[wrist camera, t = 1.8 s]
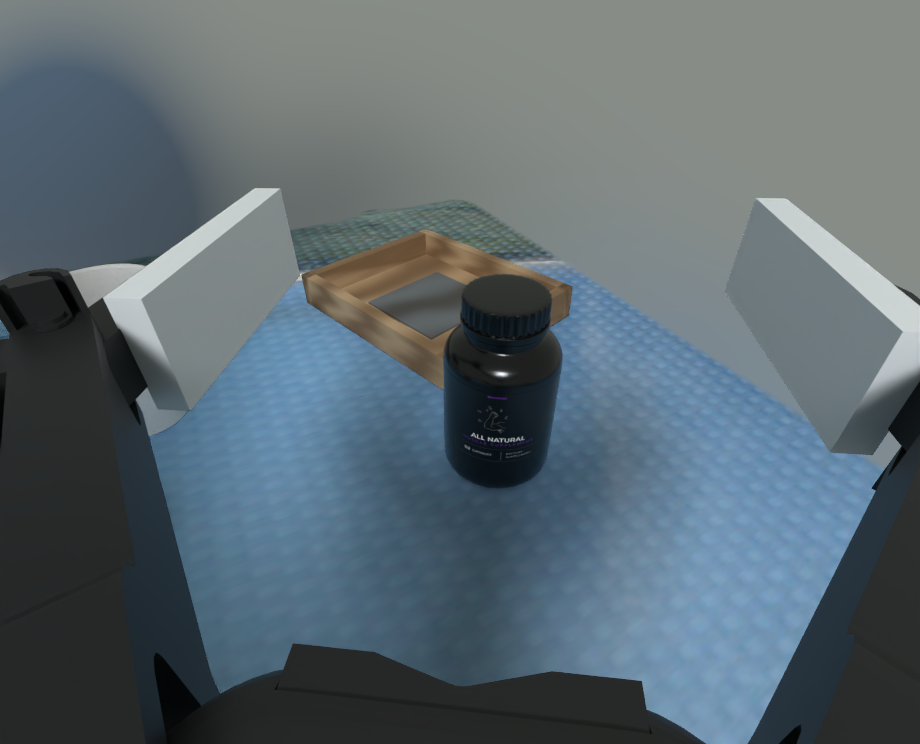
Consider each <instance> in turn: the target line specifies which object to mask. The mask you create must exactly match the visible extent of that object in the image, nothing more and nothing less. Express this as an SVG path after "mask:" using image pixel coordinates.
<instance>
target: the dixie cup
mask: <svg viewBox="0 0 920 744" xmlns="http://www.w3.org/2000/svg"><path fill="white" fill-rule="evenodd" d="M144 267H146V266H142V265H137V264H107V265H99V266H93V267H87V268H83V269H78V270H74V271H71V272H69V273H70V274H71V275H72V277H73V279H74V281H75V283H76V285H77V287H78V289H79V291H80V293H81V295H82V297H83V299H84V300H85V302H86V304H87V306H88V307H90V306H91V305H92V304H94V303H95V302H97V301H98V300H99V299H101V298H102V297H104V296H105V295H106V294H108V293H109V292H111V291H112V290H113V289H115V288H117V287H118V286H119V285H120V284H122V283H123V282H124V281H126V280H127V279H129V278H130V277H131V276H133V275H134V274H136V273H137V272H138V271H140V270H141V269H143V268H144ZM136 401H137V403H138V405H139V406H140V408H141V410H142V412H143V416H144V420H145V423H146V427H147V431H148V435H149V436H151V435H154V434H157V433H159V432H161V431H164V430H166V429H167V428H169V427H171V426H172V425H174V424H175V423H177V422H178V421H179V420H180V419H181V418H182V417H183V416H184V415H185V414H186V413H187V411H179V410H163V409H157V407H156V405H155V403H154V401H153V399H152V397H151V395H150V393H149V391H148V388H146V389H145V390H144V391H143V392H142V393H141V394H140V395H139V397H138V398H137V399H136Z"/></svg>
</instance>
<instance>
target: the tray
mask: <svg viewBox="0 0 920 744" xmlns="http://www.w3.org/2000/svg"><path fill="white" fill-rule="evenodd" d="M494 274H514V275H521V276H524V277H529V278H531V279H534V280H536V281H537V282H540V283H542V284H543V285H544V286H546V287H547V289H549V290H550V293H551V294H552V307H551V314H550V316H551V323H550V327H551V326H552V325H554V324H556V323H557V322H559V321H560V320H562V319H564V318H565V317H567V316H568V315H569V310H570V303H571V295H572V288H573V287H572V286H570V285H567V284H565V283H562V282H559V281H557V280H554V279H552V278H549V277H547V276H544V275H542V274H539V273H537V272H534V271H531V270H529V269H526V268H524V267H521V266H519V265H516V264H514V263H511V262H509V261H506V260H503V259H501V258H498V257H496V256H493V255H491V254H488V253H486V252H483V251H481V250H478V249H476V248H473V247H470V246H468V245H465V244H463V243H460V242H458V241H455V240H453V239H450V238H448V237H445V236H442V235H440V234H437V233H435V232H432V231H430V230H427V229H425V230H422V231H419V232H417V233H414V234H411V235H409V236H406V237H403V238H400V239H398V240H395V241H392V242H389V243H387V244H384V245H381V246H379V247H376V248H373V249H370V250H368V251H365V252H362V253H359V254H357V255H354V256H351V257H349V258H346V259H343V260H340V261H338V262H335V263H332V264H329V265H327V266H324V267H321V268H319V269H316V270H313V271H310V272H308V273H305V274H302V280H303V284H304V289H305V293H306V298H307V302H308V303H309V304H311V305H312V306H314V307H315V308H317V309H319V310H320V311H322V312H323V313H325V314H326V315H328V316H329V317H331V318H332V319H334V320H336V321H337V322H339V323H340V324H342V325H343V326H345V327H346V328H348V329H349V330H351V331H353V332H354V333H356V334H357V335H359V336H360V337H362V338H363V339H365V340H367V341H368V342H370V343H371V344H373V345H374V346H376V347H377V348H379V349H380V350H382V351H384V352H385V353H387V354H388V355H390V356H391V357H393V358H394V359H396V360H397V361H399V362H401V363H402V364H404V365H405V366H407V367H408V368H410V369H411V370H413V371H414V372H416V373H418V374H419V375H421V376H422V377H424V378H425V379H427V380H428V381H430V382H431V383H433V384H435V385H436V386H438V387H439V388H441V389H442V390H444V369H443V355H444V346H445V343H446V340H447V338H448V337H449V335H450V334H451V332H452V331H453V330H454V329H455V328H456V327H457V326H458V325H459V324H460V312H461V297H462V292H463V289H464V288H465V286H466V285H467V284H469V282H471V281H473V280H474V279H477V278H480V277H482V276H487V275H494Z"/></svg>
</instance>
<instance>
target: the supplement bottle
mask: <svg viewBox="0 0 920 744" xmlns="http://www.w3.org/2000/svg"><path fill="white" fill-rule="evenodd" d="M551 307H552V294H551V293H550V290H549V289H547V287H546V286H544V285H543V284H542V283H540V282H537V281H536V280H534V279H531V278H529V277H524V276H521V275H514V274H494V275H487V276H482V277H480V278H477V279H474V280H473V281H471V282H469V284H467V285H466V286H465V288H464V289H463V292H462V297H461V312H460V324H459V325H458V326H457V327H456V328H455V329H454V330H453V331H452V332H451V334H450V335H449V337H448V338H447V340H446V343H445V346H444V355H443V369H444V438H445V451H446V456H447V458H448V461H449V463H450V464H451V466H452V467H453V469H454V470H455V471H456V472H457V473H458V474H459V475H461V476H462V477H463V478H465V479H466V480H468V481H470V482H472V483H474V484H477V485H480V486H484V487H489V488H509V487H514V486H517V485H520V484H523V483H525V482H527V481H528V480H530V479H532V478H533V477H534V476H535V475H536V474H537V473H538V472H539V471H540V470H541V468H542V467H543V465H544V463H545V461H546V457H547V453H548V448H549V442H550V436H551V430H552V423H553V417H554V411H555V405H556V399H557V392H558V386H559V380H560V374H561V368H562V349H561V346H560V344H559V342H558V340H557V338H556V337H555V335H554V334H553V333H552V332H551V330H549V329H550V323H551V316H550V314H551Z"/></svg>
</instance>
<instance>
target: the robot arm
mask: <svg viewBox="0 0 920 744" xmlns="http://www.w3.org/2000/svg"><path fill="white" fill-rule="evenodd" d="M299 276H300V274H299V270H298V265H297V261H296V256H295V252H294V247H293V243H292V238H291V234H290V229H289V225H288V220H287V216H286V211H285V207H284V203H283V199H282V193H281V189H276V188H275V189H273V188H255V189H254V190H252V191H251V192H249V193H248V194H246V195H245V196H244V197H242V198H241V199H239V200H238V201H237V202H235V203H234V204H232V205H231V206H230V207H228V208H227V209H225V210H224V211H223V212H221V213H220V214H218V215H217V216H216V217H214V218H213V219H212V220H210V221H209V222H207V223H206V224H205V225H203V226H202V227H200V228H199V229H198V230H196V231H195V232H193V233H192V234H191V235H189V236H188V237H186V238H185V239H184V240H182V241H181V242H179V243H178V244H177V245H175V246H174V247H173V248H171V249H170V250H168V251H167V252H166V253H164V254H163V255H161V256H160V257H159V258H157V259H156V260H154V261H153V262H152V263H150V264H149V265H147V266H146V267H144V268H143V269H141V270H140V271H138V272H137V273H136V274H134V275H133V276H131V277H130V278H129V279H127V280H126V281H124V282H123V283H122V284H120V285H119V286H118V287H117V288H115V289H113V290H112V291H111V292H109V293H108V294H106V295H105V296H104V297H102V298H101V299H99V300H98V301H97V302H95V303H94V304H92V305H91V306H90V307H88V306H87V304H86V302H85V300H84V299H83V297H82V295H81V293H80V291H79V289H78V287H77V285H76V283H75V281H74V279H73V277H72V275H71V274H70V273H69V272H68V271H67V270H63V269H58V268H57V269H40V270H33V271H28V272H24V273H21V274H17V275H13V276H11V277H8V278H6V279H3V280H1V281H0V319H1V321H2V322H3V324H4V325H5V327H6V329H7V330H8V332H9V333H10V335H9V339H2V340H0V744H706V743H704V742H703V741H701V740H700V739H698V738H697V737H695V736H694V735H693V734H691V733H690V732H688V731H687V730H685V729H684V728H682V727H681V726H679V725H677V724H675V723H673V722H671V721H670V720H668V719H666V718H664V717H662V716H660V715H658V714H656V713H653V712H651V711H648V710H646V704H645V698H644V692H643V686H642V681H636V680H627V679H617V678H608V677H599V676H590V675H580V674H571V673H562V672H553V671H552V672H546V673H540V674H535V675H529V676H523V677H518V678H512V679H506V680H501V681H495V682H489V683H484V684H478V685H472V686H465V687H461V686H454V685H451V684H449V683H446V682H444V681H442V680H439V679H437V678H434V677H432V676H430V675H427V674H425V673H422V672H420V671H418V670H415V669H413V668H411V667H408V666H406V665H403V664H401V663H399V662H396V661H394V660H392V659H389V658H387V657H384V656H382V655H380V654H377V653H375V652H367V651H358V650H349V649H340V648H330V647H321V646H312V645H303V644H293V645H292V648H291V650H290V653H289V656H288V659H287V661H286V664H285V667H284V670H279V671H274V672H271V673H268V674H265V675H261V676H258V677H255V678H252V679H250V680H248V681H246V682H243V683H241V684H239V685H236V686H234V687H232V688H230V689H229V690H227V691H225V692H223V693H222V694H220V693H219V691H218V689H217V687H216V684H215V682H214V680H213V677H212V674H211V671H210V668H209V665H208V661H207V657H206V654H205V650H204V646H203V642H202V638H201V634H200V631H199V627H198V623H197V619H196V615H195V611H194V608H193V604H192V600H191V596H190V592H189V588H188V585H187V581H186V577H185V573H184V569H183V565H182V562H181V558H180V554H179V550H178V546H177V542H176V539H175V535H174V531H173V527H172V523H171V519H170V516H169V512H168V508H167V504H166V500H165V496H164V492H163V489H162V485H161V481H160V477H159V473H158V469H157V466H156V462H155V458H154V454H153V450H152V446H151V443H150V439H149V435H148V431H147V427H146V423H145V420H144V416H143V412H142V410H141V408H140V406H139V405H138V403H137V401H136V399H137V398H138V397H139V395H140V394H141V393H142V392H143V391H144V390H145V389H146V388H148V391H149V393H150V395H151V397H152V399H153V401H154V403H155V405H156V407H157V409H163V410H179V411H191V410H192V409H193V408H194V406H195V405H196V404H197V403H198V401H199V400H200V399H201V398H202V396H203V395H204V394H205V393H206V392H207V390H208V389H209V388H210V387H211V385H212V384H213V383H214V382H215V380H216V379H217V378H218V377H219V375H220V374H221V373H222V372H223V370H224V369H225V368H226V367H227V365H228V364H229V363H230V362H231V360H232V359H233V358H234V357H235V355H236V354H237V353H238V352H239V351H240V349H241V348H242V347H243V346H244V344H245V343H246V342H247V341H248V339H249V338H250V337H251V336H252V334H253V333H254V332H255V331H256V329H257V328H258V327H259V326H260V324H261V323H262V322H263V321H264V319H265V318H266V317H267V316H268V315H269V313H270V312H271V311H272V310H273V308H274V307H275V306H276V305H277V303H278V302H279V301H280V300H281V298H282V297H283V296H284V295H285V293H286V292H287V291H288V290H289V288H290V287H291V286H292V285H293V283H294V282H295V281H296V280H297V279H298V277H299ZM725 292H726V294H727V296H728V297H729V299H730V300H731V302H732V303H733V305H734V306H735V308H736V309H737V311H738V312H739V314H740V315H741V317H742V319H743V320H744V322H745V323H746V325H747V326H748V328H749V329H750V331H751V332H752V334H753V335H754V337H755V338H756V340H757V341H758V343H759V344H760V346H761V348H762V349H763V351H764V352H765V354H766V355H767V357H768V358H769V360H770V361H771V363H772V364H773V366H774V367H775V369H776V370H777V372H778V373H779V375H780V377H781V378H782V379H783V381H784V383H785V384H786V386H787V387H788V389H789V390H790V391H791V393H792V395H793V396H794V398H795V399H796V401H797V402H798V404H799V406H800V407H801V409H802V410H803V412H804V413H805V415H806V416H807V418H808V419H809V421H810V422H811V424H812V425H813V427H814V428H815V430H816V431H817V433H818V435H819V436H820V438H821V439H822V441H823V442H824V444H825V445H826V447H827V448H828V450H829V451H830V452H832V453H848V454H863V455H873V454H874V452H875V451H876V449H877V448H878V446H879V445H880V443H881V442H882V440H883V439H884V437H885V436H886V435H887V433H888V431H890V432H891V434H892V435H893V436H894V437H895V438H896V440H897V441H898V442H899V443H900V444H901V448H900V449H899V451H898V452H897V453H896V455H895V456H894V458H893V459H892V460H891V462H890V463H889V465H888V466H887V467H886V469H885V470H884V471H883V473H882V474H881V476H880V477H879V478H878V480H877V481H876V483H875V484H874V485H873V487H872V489H874V490H876V492H875V494H874V496H873V498H872V500H871V502H870V504H869V506H868V508H867V510H866V512H865V514H864V516H863V518H862V520H861V522H860V524H859V526H858V528H857V530H856V532H855V534H854V536H853V538H852V540H851V542H850V544H849V546H848V548H847V550H846V551H845V553H844V555H843V557H842V559H841V561H840V563H839V565H838V567H837V569H836V571H835V573H834V575H833V577H832V579H831V581H830V583H829V585H828V587H827V589H826V591H825V593H824V595H823V597H822V599H821V601H820V603H819V605H818V607H817V609H816V611H815V613H814V615H813V617H812V619H811V621H810V623H809V625H808V627H807V629H806V631H805V633H804V635H803V637H802V639H801V641H800V643H799V645H798V647H797V649H796V651H795V653H794V655H793V657H792V659H791V661H790V663H789V665H788V667H787V669H786V671H785V673H784V675H783V677H782V679H781V681H780V683H779V685H778V687H777V689H776V691H775V693H774V695H773V697H772V699H771V701H770V703H769V705H768V707H767V709H766V711H765V713H764V715H763V717H762V719H761V721H760V723H759V725H758V727H757V728H756V730H755V732H754V734H753V736H752V737H751V739H750V741H749V742H748V744H920V299H919V298H918V297H916V296H915V295H914V294H912V293H911V292H909V291H906V290H904V289H902V288H900V287H898V286H896V285H894V284H892V283H891V282H889V281H888V280H887V279H886V278H884V277H883V276H882V275H881V274H879V273H878V272H877V271H876V270H874V269H873V268H872V267H871V266H869V265H868V264H867V263H866V262H864V261H863V260H862V259H861V258H859V257H858V256H857V255H856V254H855V253H853V252H852V251H851V250H849V249H848V248H847V247H846V246H845V245H843V244H842V243H841V242H839V241H838V240H837V239H836V238H835V237H833V236H832V235H831V234H830V233H828V232H827V231H826V230H825V229H823V228H822V227H821V226H820V225H818V224H817V223H816V222H815V221H813V220H812V219H811V218H810V217H808V216H807V215H806V214H805V213H803V212H802V211H801V210H800V209H798V208H797V207H796V206H795V205H793V204H792V203H791V202H790V201H788V200H787V199H777V198H776V199H775V198H756V199H755V202H754V205H753V208H752V211H751V214H750V217H749V220H748V223H747V226H746V229H745V232H744V235H743V238H742V241H741V244H740V247H739V250H738V253H737V256H736V258H735V262H734V265H733V268H732V270H731V274H730V277H729V280H728V282H727V285H726V288H725Z"/></svg>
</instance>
